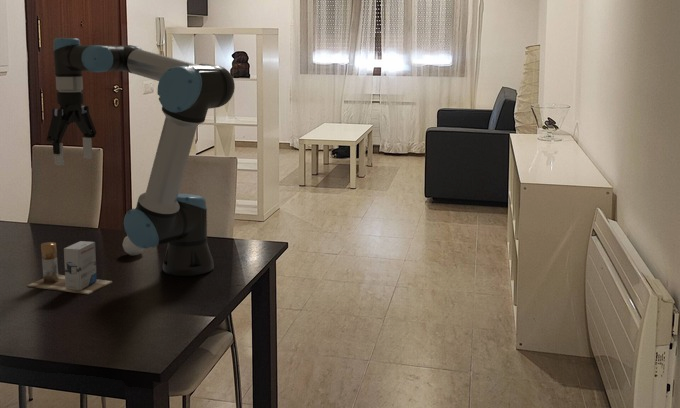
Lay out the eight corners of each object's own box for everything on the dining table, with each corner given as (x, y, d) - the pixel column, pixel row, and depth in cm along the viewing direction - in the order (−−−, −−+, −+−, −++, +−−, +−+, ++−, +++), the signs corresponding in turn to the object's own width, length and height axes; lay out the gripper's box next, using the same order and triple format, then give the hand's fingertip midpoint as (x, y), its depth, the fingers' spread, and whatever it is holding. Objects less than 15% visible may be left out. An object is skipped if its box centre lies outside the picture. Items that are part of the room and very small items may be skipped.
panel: (112, 282, 211) (112, 281, 211) (88, 294, 201) (88, 293, 201) (53, 275, 217) (53, 273, 217) (27, 286, 207) (27, 285, 207)
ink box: (82, 279, 212) (80, 240, 209) (98, 281, 211) (96, 241, 208) (65, 289, 204) (62, 248, 201) (81, 290, 203) (78, 249, 200)
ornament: (118, 256, 237) (118, 233, 240) (138, 260, 242) (138, 238, 245) (129, 249, 232) (129, 226, 236) (150, 253, 238) (150, 230, 241)
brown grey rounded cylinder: (61, 279, 212) (59, 242, 209) (52, 284, 208) (49, 246, 206) (50, 278, 213) (47, 241, 210) (40, 282, 209) (37, 245, 207)
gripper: (85, 88, 232) (89, 155, 237) (30, 93, 209) (35, 167, 213) (105, 89, 230) (109, 156, 234) (52, 93, 207) (57, 168, 211)
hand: (74, 161), depth 224 cm, fingers open, 13 cm apart
